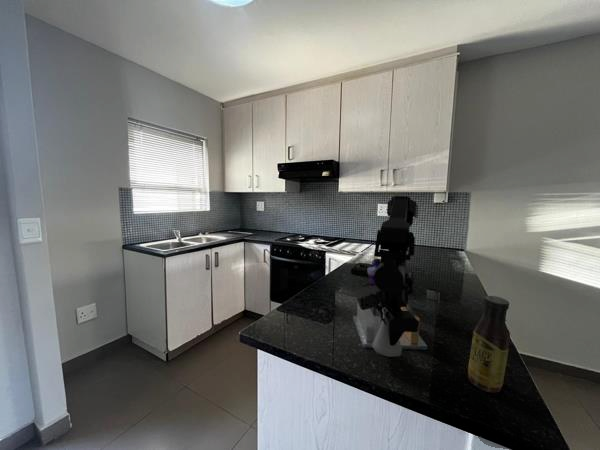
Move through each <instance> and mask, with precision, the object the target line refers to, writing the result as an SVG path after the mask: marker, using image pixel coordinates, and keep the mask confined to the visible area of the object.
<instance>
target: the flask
mask: <svg viewBox="0 0 600 450" xmlns="http://www.w3.org/2000/svg"><path fill="white" fill-rule="evenodd" d="M382 312H383V318H384V315H385V313H386V312H387V311H386V309H385V308H383V309H382ZM372 347H373V348H372V349H373V350H374V351H375V353H376V354H379V355H381V356H386V357H389V358H390V357H401V355H402V352H403V349H402V347H401V344H400V341H399V340H398V342H397V343H396V344H395V345H394V346H391V345H390V342H389V334H388V328H387V326H386V325H385V324H384V322H383V320H382V323H381V326H380V329H379V331H378V333H377V335H376V338H375V340H374V342H373V344H372Z"/></svg>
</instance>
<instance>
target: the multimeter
mask: <svg viewBox="0 0 600 450" xmlns="http://www.w3.org/2000/svg"><path fill="white" fill-rule="evenodd" d="M369 267H374V265H373V264H372V263H366V262H358V263H356V264H355V265H354V266H353V267H352V268H350V275H352V276H359V277H364V278H369V276H368V272H367V269H368V268H369Z"/></svg>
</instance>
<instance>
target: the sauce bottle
mask: <svg viewBox="0 0 600 450" xmlns="http://www.w3.org/2000/svg"><path fill="white" fill-rule="evenodd" d="M483 304H484V307H483V313H482V316H481V317H480V319H479V320H478V323H477V324H476V326H475V327H474V329H473V332H472V338H471V339H472V340H471V347H470V354H469V360H468V367H467V376H468V379H469V381H470V383H471V385H474V386H475V387H477V388H478V389H480V390H481V391H483V392H486V393H491V394H495V393H499V392H500V391H501V390H502V387H503V385H504V380H505V379H504V378H505V374H506V369H507V361H508V356H509V349H510V347H509V346H510V340H511V332H510V330H509V329H508V326H507V324H506V321H507V318H506V317H507V311H508V310H509V308H510V307H509V306H510V302H509V301H508V300H507V299H505V298H503V297H499V296H496V295H486V296H485V297H484V301H483Z"/></svg>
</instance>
